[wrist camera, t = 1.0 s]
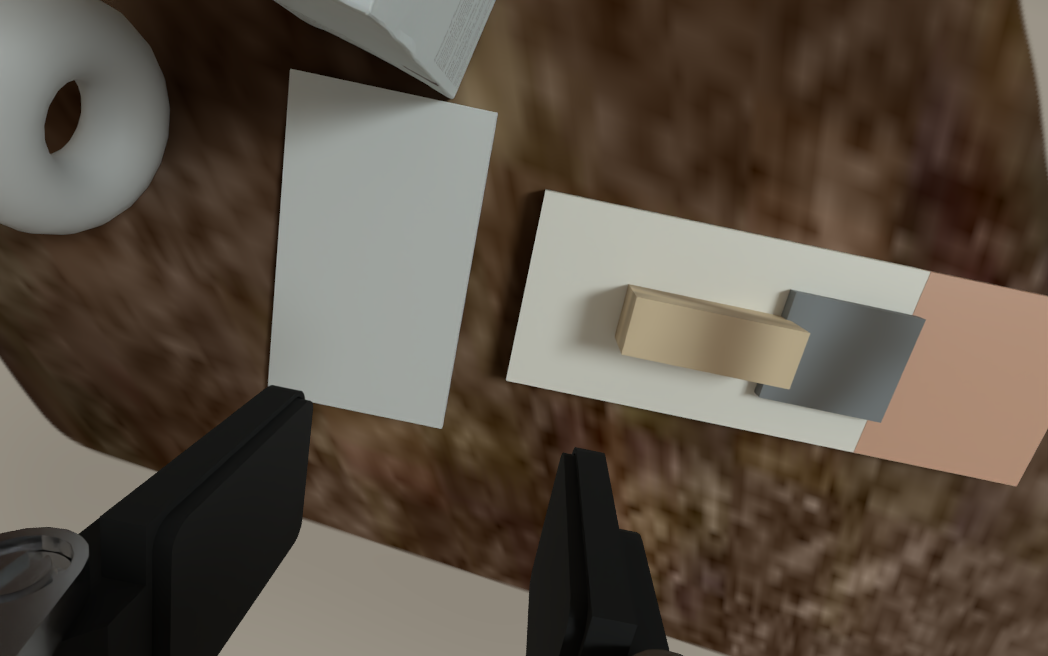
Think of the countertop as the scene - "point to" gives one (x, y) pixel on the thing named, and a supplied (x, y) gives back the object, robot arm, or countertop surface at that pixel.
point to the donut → (105, 122)
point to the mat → (375, 245)
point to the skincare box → (405, 32)
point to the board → (763, 285)
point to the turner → (778, 346)
